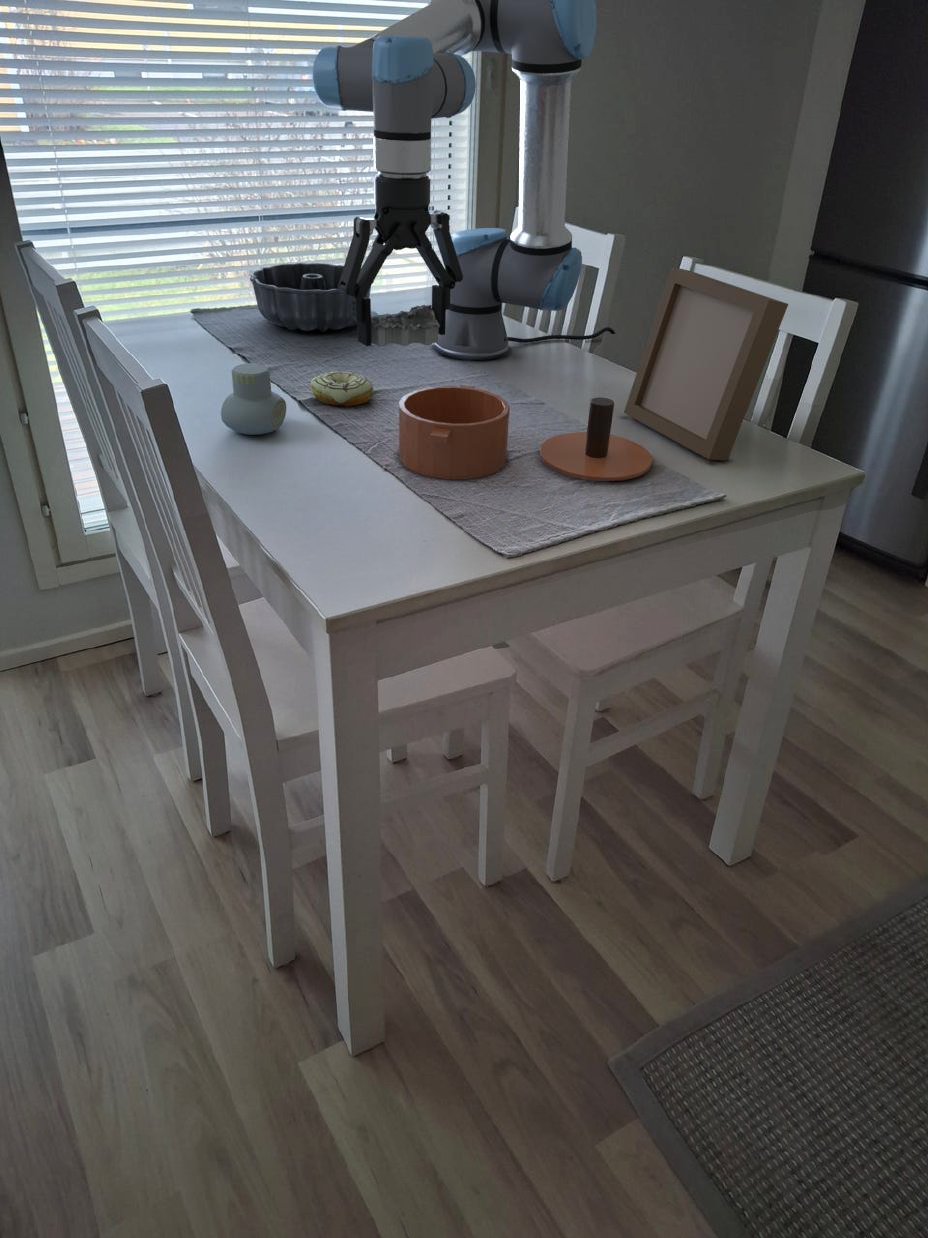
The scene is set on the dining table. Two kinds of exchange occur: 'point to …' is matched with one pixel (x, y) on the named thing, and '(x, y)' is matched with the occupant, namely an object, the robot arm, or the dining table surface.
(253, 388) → the air freshener
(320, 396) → the decorated donut
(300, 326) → the bundt pan
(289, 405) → the dining table surface
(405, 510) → the dining table surface
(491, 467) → the pot
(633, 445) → the lid
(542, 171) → the robot arm
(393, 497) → the dining table surface
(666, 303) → the photo frame
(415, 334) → the egg carton
